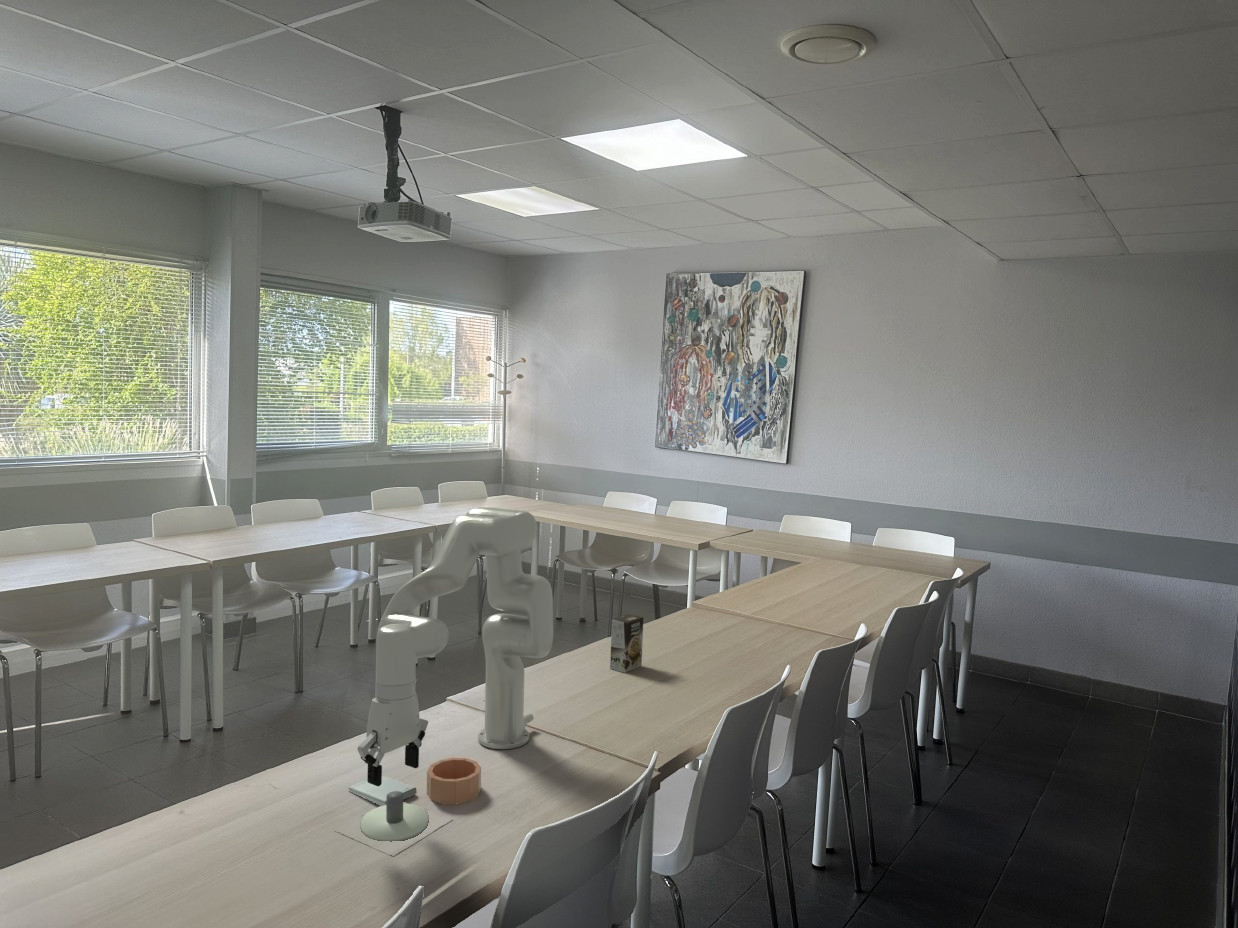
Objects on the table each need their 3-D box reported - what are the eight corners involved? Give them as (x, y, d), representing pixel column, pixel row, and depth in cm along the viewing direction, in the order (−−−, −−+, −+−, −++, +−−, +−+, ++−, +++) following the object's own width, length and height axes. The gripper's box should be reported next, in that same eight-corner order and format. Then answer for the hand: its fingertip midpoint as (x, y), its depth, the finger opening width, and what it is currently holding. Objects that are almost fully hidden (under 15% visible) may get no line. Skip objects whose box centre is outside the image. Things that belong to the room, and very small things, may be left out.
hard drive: (416, 786, 176) (380, 772, 183) (384, 800, 169) (348, 785, 177) (416, 794, 176) (380, 779, 183) (384, 808, 169) (348, 793, 177)
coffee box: (625, 673, 258) (627, 622, 257) (609, 668, 262) (610, 618, 260) (642, 666, 265) (644, 616, 264) (626, 661, 269) (628, 613, 268)
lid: (395, 802, 172) (395, 773, 172) (442, 820, 166) (442, 790, 165) (345, 829, 161) (345, 799, 160) (393, 850, 154) (394, 818, 154)
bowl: (452, 777, 185) (452, 753, 185) (490, 790, 180) (490, 766, 179) (416, 796, 176) (416, 771, 175) (455, 811, 170) (456, 785, 170)
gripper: (413, 674, 170) (411, 755, 171) (346, 697, 155) (345, 786, 156) (441, 681, 166) (438, 764, 167) (374, 705, 151) (373, 796, 153)
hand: (393, 774), depth 162 cm, fingers open, 9 cm apart
